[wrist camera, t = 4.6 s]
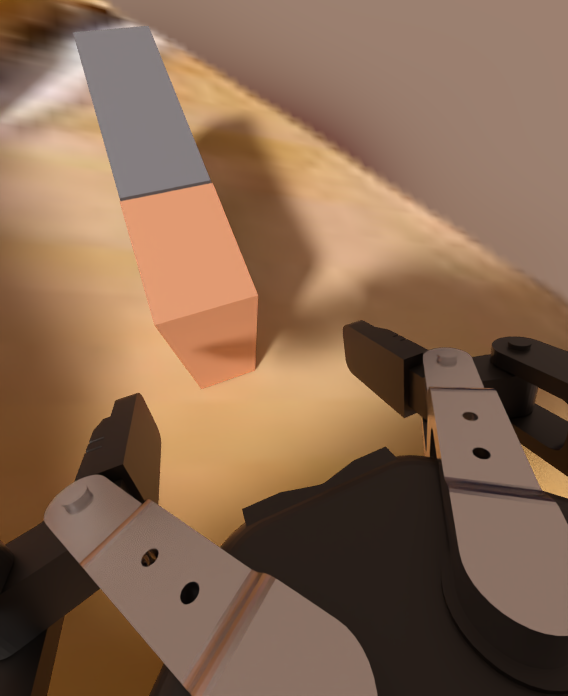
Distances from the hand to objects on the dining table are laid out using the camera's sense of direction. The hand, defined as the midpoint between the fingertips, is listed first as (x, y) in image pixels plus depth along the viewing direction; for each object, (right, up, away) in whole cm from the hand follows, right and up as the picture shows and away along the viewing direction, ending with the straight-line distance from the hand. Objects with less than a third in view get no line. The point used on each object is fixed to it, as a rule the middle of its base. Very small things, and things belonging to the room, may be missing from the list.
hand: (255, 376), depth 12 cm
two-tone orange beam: (-4, +1, +11) cm, 12 cm away
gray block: (-7, +10, +14) cm, 18 cm away
